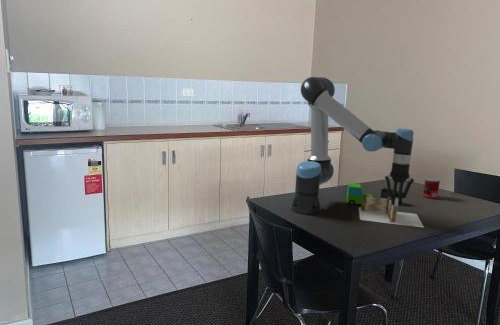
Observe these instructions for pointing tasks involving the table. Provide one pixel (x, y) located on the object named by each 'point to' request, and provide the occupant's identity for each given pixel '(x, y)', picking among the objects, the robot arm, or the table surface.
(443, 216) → the table surface
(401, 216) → the card
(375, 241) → the table surface
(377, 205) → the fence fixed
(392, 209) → the fence gate
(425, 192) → the canned food
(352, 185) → the toy car
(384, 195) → the digital camera
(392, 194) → the robot arm
